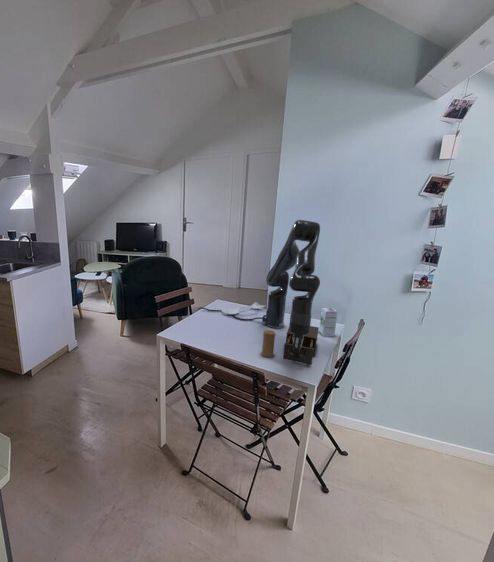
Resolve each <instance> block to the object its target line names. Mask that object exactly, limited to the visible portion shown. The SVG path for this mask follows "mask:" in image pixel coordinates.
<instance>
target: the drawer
mask: <svg viewBox="0 0 494 562" xmlns="http://www.w3.org/2000/svg"><path fill="white" fill-rule="evenodd" d="M292 338H293V335H290V336H289V339H288V341H287V343H286V342H285V343H284V346H283V348H284V349H283V354H282V355H283V356H282V357H283V358H282V359H283V360H287V361H291V362H296V363H300V364H305V365H309V366H312V364H313V357H314V356H313V349H314V348H313V340H314V339H309V338H304V339H303V344H302V347H301V350H300V355H299V359H298V360H297V359H293V353H294V351H293V340H292Z"/></svg>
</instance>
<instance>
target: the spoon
mask: <svg viewBox="0 0 494 562" xmlns="http://www.w3.org/2000/svg"><path fill="white" fill-rule="evenodd" d="M266 307H267V305H266V304H260V303H259V302H258V301H255V302H253V304H251V305H242V306H240V307H237V308H227V309H221V310H222V313H223V314H225V315H230V316H232V315H237V314H238V313H239V312H240V310H242V309H246V308H249V309H253V310H260V309H263V308H266Z"/></svg>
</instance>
